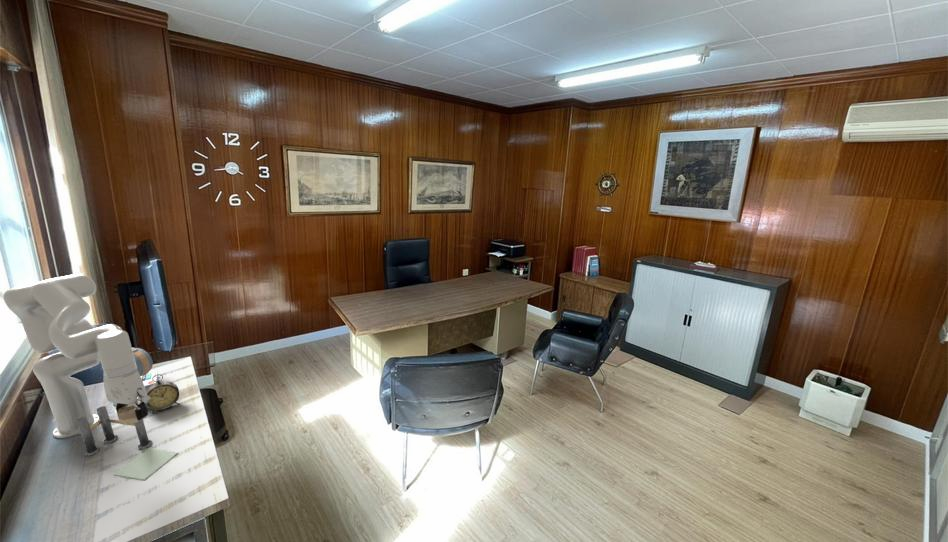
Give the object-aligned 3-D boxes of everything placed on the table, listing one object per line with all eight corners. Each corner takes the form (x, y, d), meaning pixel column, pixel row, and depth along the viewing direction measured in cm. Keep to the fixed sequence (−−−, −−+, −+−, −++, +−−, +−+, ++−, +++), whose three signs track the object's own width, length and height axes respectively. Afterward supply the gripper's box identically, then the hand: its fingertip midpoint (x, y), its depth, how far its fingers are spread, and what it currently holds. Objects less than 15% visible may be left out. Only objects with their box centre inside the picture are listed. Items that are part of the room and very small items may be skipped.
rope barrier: (81, 455, 129) (70, 422, 125) (112, 435, 138) (102, 404, 134) (126, 463, 126) (116, 429, 122) (155, 442, 136) (146, 410, 132)
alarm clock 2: (148, 416, 149) (139, 382, 144) (148, 410, 153) (139, 376, 148) (182, 405, 156) (174, 372, 152) (181, 399, 160) (173, 367, 155)
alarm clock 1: (115, 386, 169) (105, 351, 164) (137, 374, 178) (128, 341, 173) (141, 389, 166) (131, 355, 161) (162, 377, 176) (153, 344, 171)
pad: (113, 475, 121) (113, 474, 121) (149, 448, 133) (149, 447, 133) (144, 480, 120) (144, 479, 120) (178, 453, 131) (178, 452, 131)
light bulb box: (143, 397, 161) (137, 376, 158) (162, 392, 165) (157, 371, 162) (140, 410, 153) (134, 388, 150) (161, 404, 157) (156, 382, 154)
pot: (115, 423, 118) (112, 412, 117) (136, 410, 125) (133, 400, 123) (132, 425, 117) (129, 415, 116) (152, 412, 124) (149, 402, 122)
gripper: (83, 372, 113) (98, 420, 118) (131, 378, 111) (144, 427, 116) (110, 359, 121) (123, 406, 126) (155, 365, 118) (167, 412, 123)
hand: (133, 415), depth 121 cm, fingers closed on pot, 6 cm apart
